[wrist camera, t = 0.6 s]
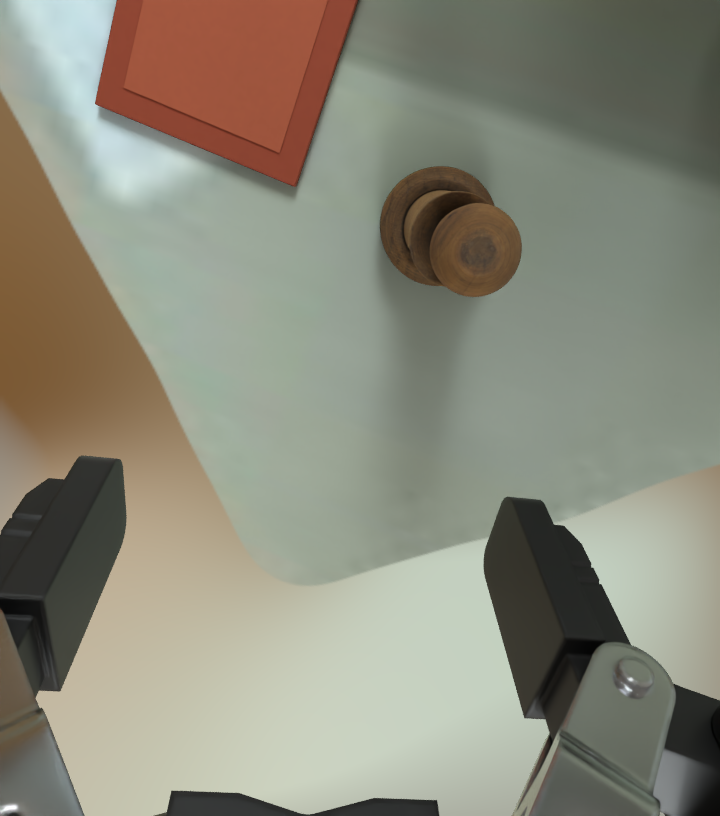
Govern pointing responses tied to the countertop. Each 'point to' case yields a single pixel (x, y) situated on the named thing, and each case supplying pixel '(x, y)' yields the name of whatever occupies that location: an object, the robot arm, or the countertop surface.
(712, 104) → the countertop surface
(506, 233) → the mortar and pestle
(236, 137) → the tray
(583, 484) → the countertop surface
